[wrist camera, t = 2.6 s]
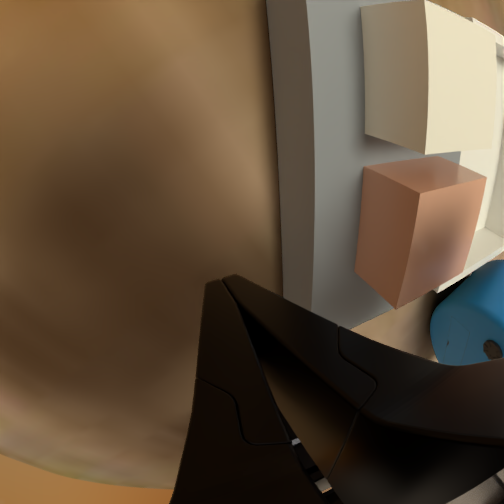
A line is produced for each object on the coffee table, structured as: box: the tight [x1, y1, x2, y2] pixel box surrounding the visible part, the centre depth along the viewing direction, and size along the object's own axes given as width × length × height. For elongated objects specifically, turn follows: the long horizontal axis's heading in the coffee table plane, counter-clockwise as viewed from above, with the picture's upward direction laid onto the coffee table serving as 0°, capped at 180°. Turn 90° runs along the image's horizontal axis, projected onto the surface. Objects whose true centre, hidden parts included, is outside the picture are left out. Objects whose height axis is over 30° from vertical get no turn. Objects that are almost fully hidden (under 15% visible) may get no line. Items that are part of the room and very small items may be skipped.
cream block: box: [360, 0, 497, 155], centre depth 7 cm, size 4×4×2 cm
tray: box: [433, 17, 504, 293], centre depth 13 cm, size 14×10×4 cm
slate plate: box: [266, 0, 462, 329], centre depth 11 cm, size 14×8×2 cm, turn 5°
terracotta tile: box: [354, 156, 487, 309], centre depth 10 cm, size 4×4×2 cm
